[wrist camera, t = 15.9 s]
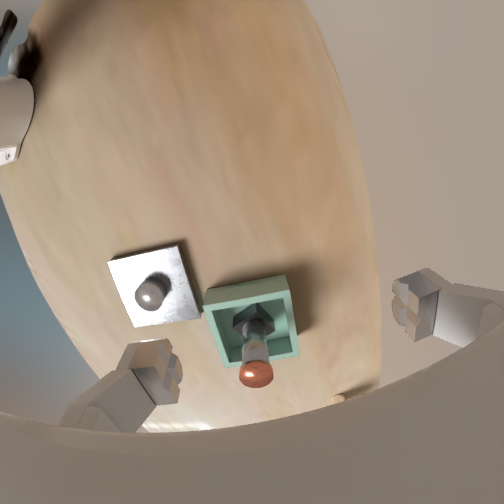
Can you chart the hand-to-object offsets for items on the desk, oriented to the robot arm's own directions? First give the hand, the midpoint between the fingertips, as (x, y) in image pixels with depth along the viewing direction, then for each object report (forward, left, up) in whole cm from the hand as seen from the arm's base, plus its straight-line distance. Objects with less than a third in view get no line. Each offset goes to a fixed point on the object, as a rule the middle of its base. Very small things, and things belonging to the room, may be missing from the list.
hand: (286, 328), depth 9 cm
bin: (-4, -18, -30) cm, 35 cm away
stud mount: (-18, -10, -30) cm, 36 cm away
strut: (-4, -18, -29) cm, 34 cm away
